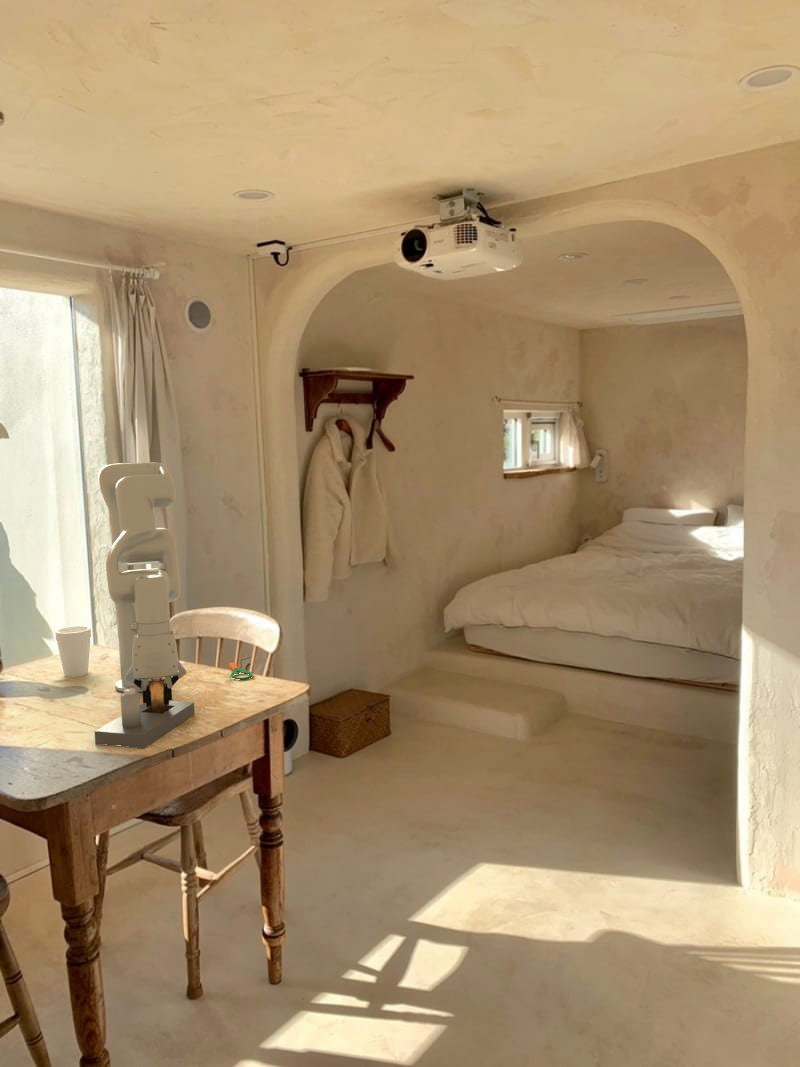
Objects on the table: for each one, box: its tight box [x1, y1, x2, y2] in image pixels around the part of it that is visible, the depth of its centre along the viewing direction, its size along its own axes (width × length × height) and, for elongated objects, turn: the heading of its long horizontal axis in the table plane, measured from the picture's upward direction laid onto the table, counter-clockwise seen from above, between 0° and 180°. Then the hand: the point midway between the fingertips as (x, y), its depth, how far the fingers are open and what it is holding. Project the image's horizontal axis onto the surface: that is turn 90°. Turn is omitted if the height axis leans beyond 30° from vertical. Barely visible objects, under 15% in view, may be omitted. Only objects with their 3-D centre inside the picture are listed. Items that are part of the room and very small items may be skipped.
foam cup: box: [55, 625, 92, 678], centre depth 232 cm, size 10×9×13 cm
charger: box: [94, 689, 195, 749], centre depth 186 cm, size 22×12×11 cm, turn 166°
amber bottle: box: [148, 677, 167, 714], centre depth 191 cm, size 4×4×10 cm
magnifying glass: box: [228, 662, 254, 681], centre depth 230 cm, size 15×6×2 cm, turn 25°
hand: (157, 703), depth 191 cm, fingers closed on amber bottle, 3 cm apart
